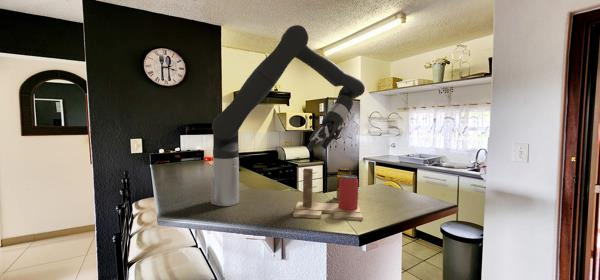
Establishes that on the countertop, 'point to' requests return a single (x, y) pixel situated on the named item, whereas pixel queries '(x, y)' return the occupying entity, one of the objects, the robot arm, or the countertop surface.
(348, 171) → the condiment
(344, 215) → the broken strip
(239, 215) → the countertop surface
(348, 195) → the beer can
